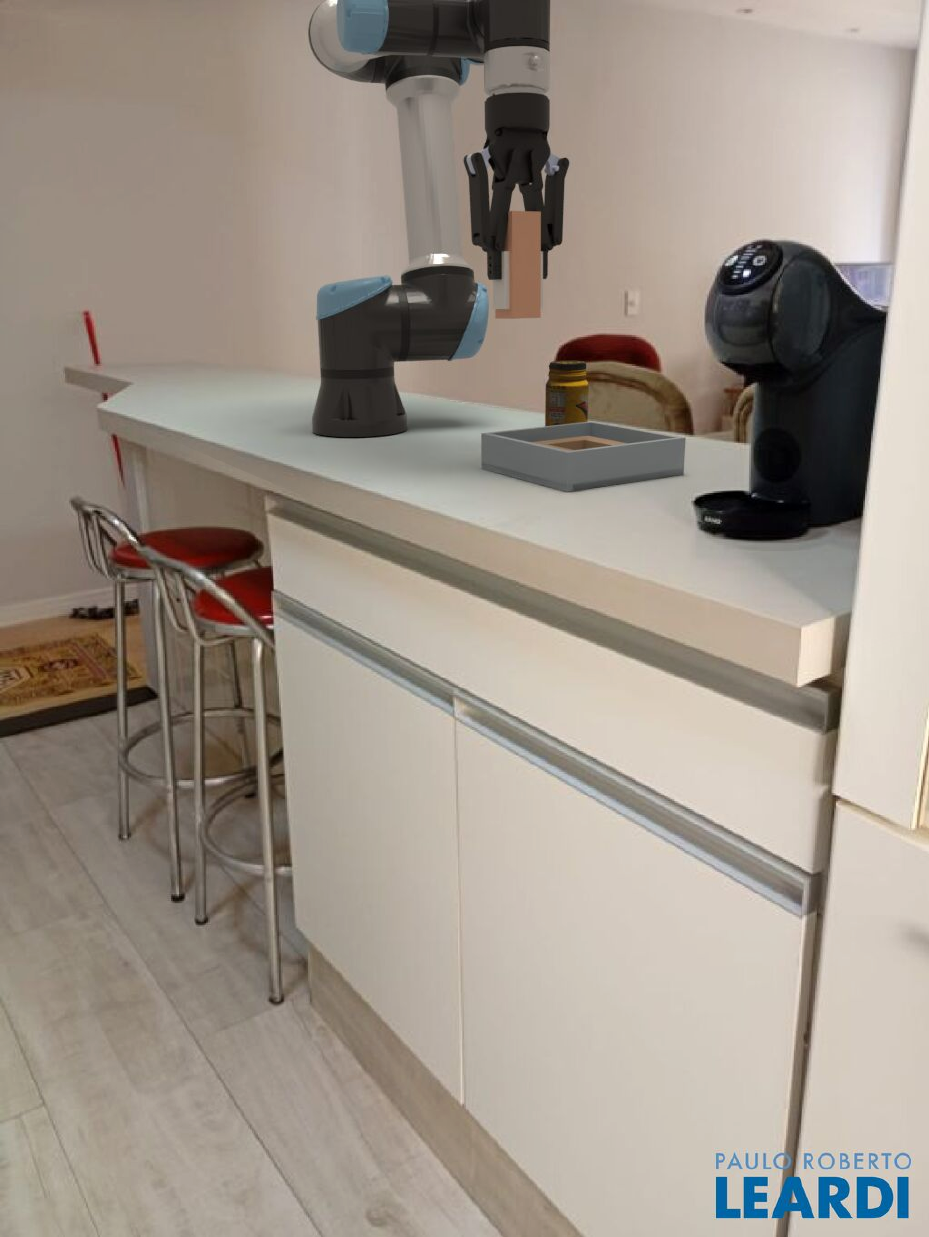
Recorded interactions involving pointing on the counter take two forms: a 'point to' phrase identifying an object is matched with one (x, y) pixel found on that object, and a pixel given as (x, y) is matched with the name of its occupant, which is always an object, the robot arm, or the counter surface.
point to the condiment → (566, 393)
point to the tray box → (582, 455)
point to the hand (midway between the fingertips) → (517, 308)
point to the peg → (523, 265)
